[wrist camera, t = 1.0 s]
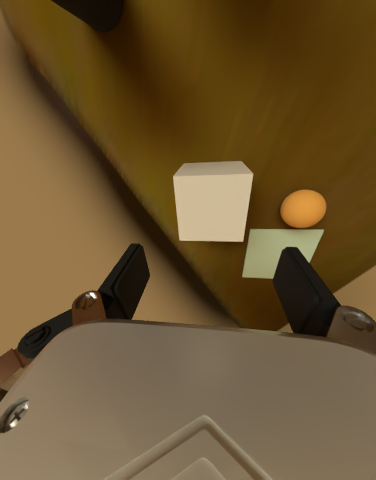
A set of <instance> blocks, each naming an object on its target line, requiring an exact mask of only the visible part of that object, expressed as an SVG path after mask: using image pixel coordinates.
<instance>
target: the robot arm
mask: <svg viewBox="0 0 376 480" xmlns="http://www.w3.org/2000/svg"><path fill="white" fill-rule="evenodd" d="M149 277H150V273H149V269H148V265H147V261H146V257H145V253H144V249H143V246H141V245H140V244H130V246H129V247H128V249H127V250H126V251H125V253H124V254H123V256H122V257H121V258H120V260H119V262H118V263H117V264H116V265H115V267H114V268H113V270H112V271H111V272H110V274H109V275H108V277H107V278H106V279H105V281H104V282H103V284H102V285H101V286H100V288H99V289H98V291H93V290H92V291H88V292H85V293H83V294H81V295H80V296H78V297H77V298H76V299H75V300H74V302H73V304H72V309H70V310H68V311H66V312H64V313H62V314H60V315H58V316H56V317H54V318H52V319H50V320H48V321H46V322H45V323H43V324H41V325H39V326H37V327H35V328H33V329H32V330H30V331H29V332H28V333H27V334H26V335H25V336H24V337H23V338H22V339H21V341H20V342H19V344H18V347H17V348H16V349H15V350H13V349H10V350H9V351H7V352H6V353H5V354H3V355H2V356H0V480H376V322H375V321H374V320H373V319H372V318H371V317H370V316H368V315H367V314H366V313H365V312H363V311H361V310H359V309H357V308H354V307H350V306H341V305H340V303H339V302H338V301H337V299H336V298H335V297H334V295H333V294H332V293H331V291H330V290H329V289H328V287H327V286H326V285H325V283H324V282H323V281H322V279H321V278H320V277H319V275H318V274H317V273H316V271H315V270H314V269H313V268H312V266H311V265H310V263H309V262H308V261H307V259H306V258H305V257H304V255H303V254H302V253H301V251H300V250H299V249H298V248H297V247H286V248H285V249H282V252H281V255H280V258H279V261H278V264H277V267H276V271H275V274H274V277H273V284H274V287H275V289H276V292H277V294H278V297H279V299H280V302H281V304H282V306H283V309H284V311H285V314H286V316H287V319H288V321H289V324H290V326H291V329H292V331H293V333H287V332H277V331H266V330H254V329H243V328H230V327H218V326H207V325H195V324H183V323H169V322H157V321H144V320H131V319H132V318H133V315H134V313H135V310H136V308H137V305H138V303H139V301H140V298H141V296H142V294H143V292H144V289H145V287H146V284H147V282H148V280H149Z"/></svg>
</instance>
